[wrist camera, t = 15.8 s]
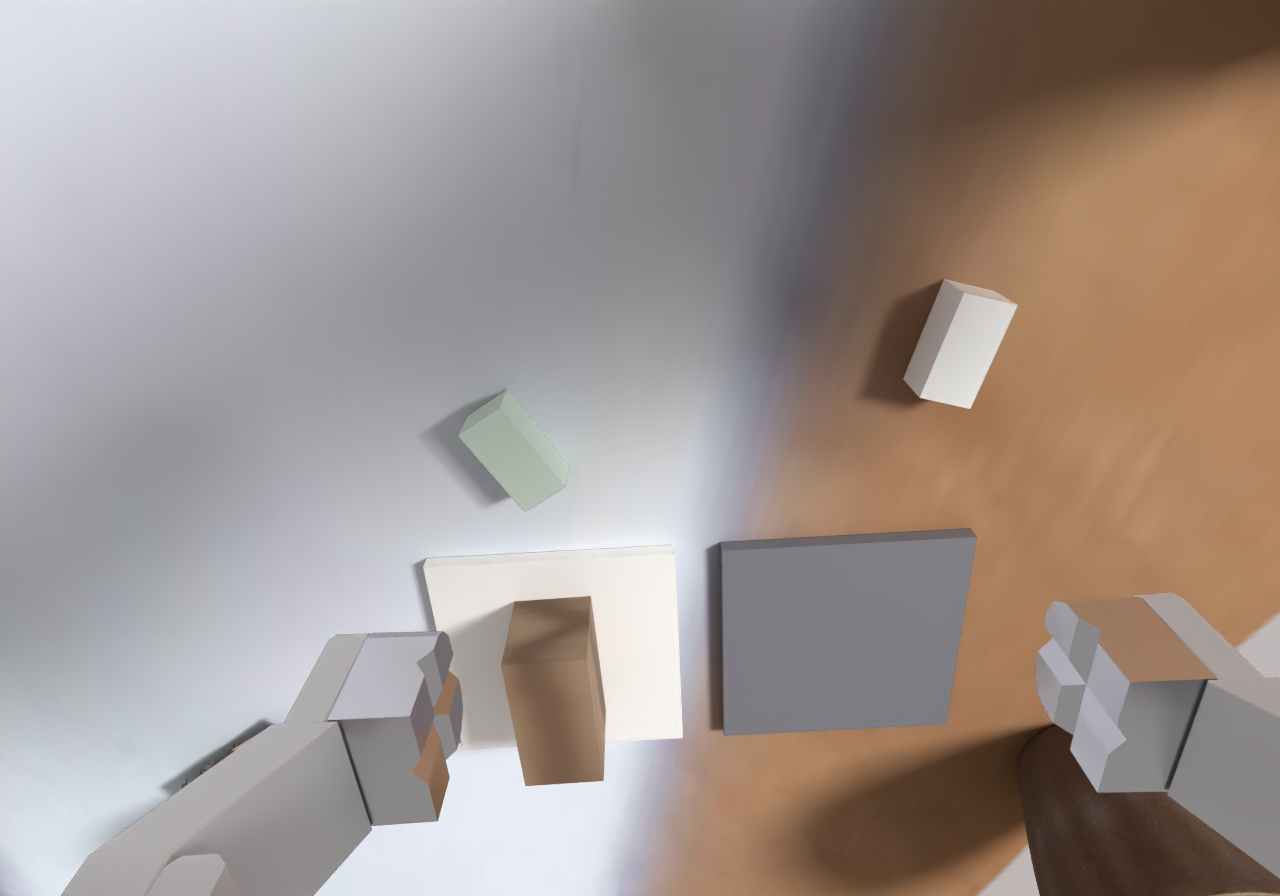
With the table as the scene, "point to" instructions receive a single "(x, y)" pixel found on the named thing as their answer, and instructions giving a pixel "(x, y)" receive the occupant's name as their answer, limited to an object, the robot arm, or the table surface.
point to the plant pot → (1122, 836)
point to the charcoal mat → (842, 630)
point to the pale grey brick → (958, 343)
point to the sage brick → (515, 451)
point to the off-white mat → (624, 623)
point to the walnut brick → (555, 690)
